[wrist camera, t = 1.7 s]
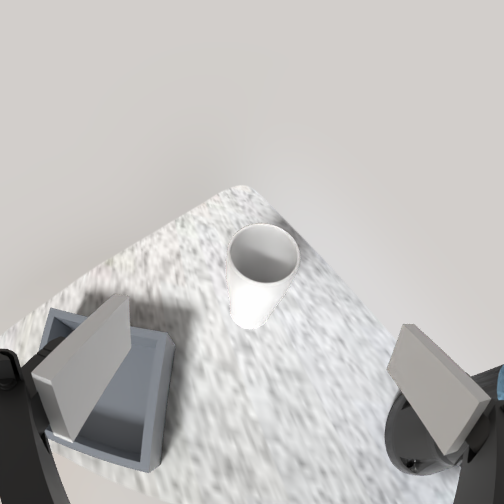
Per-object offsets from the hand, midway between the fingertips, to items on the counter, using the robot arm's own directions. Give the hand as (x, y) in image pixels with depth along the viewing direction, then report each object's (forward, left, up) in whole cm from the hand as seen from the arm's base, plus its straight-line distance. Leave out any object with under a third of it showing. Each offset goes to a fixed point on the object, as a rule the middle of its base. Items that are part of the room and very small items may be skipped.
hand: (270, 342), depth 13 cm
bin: (+17, +3, -24) cm, 30 cm away
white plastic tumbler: (0, -11, -24) cm, 27 cm away
